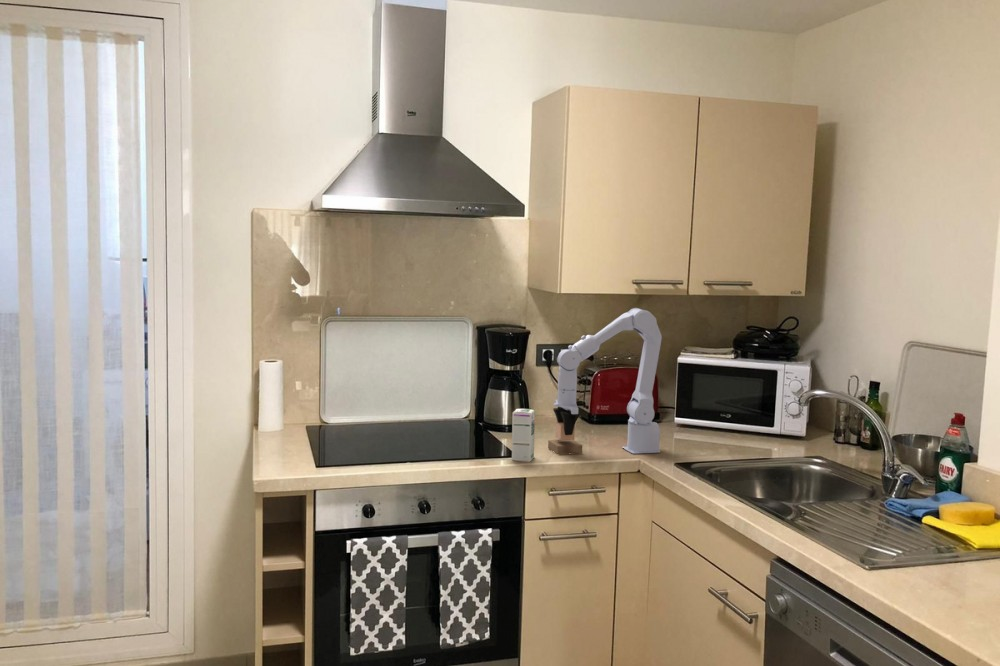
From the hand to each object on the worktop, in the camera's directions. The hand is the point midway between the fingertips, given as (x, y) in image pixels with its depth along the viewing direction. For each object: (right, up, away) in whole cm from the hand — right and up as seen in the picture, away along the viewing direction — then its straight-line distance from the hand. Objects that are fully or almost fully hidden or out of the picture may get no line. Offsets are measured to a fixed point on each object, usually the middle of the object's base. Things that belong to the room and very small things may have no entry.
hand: (565, 432), depth 256 cm
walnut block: (0, -6, +1) cm, 6 cm away
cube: (0, -2, 0) cm, 2 cm away
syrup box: (-13, -7, -11) cm, 18 cm away
